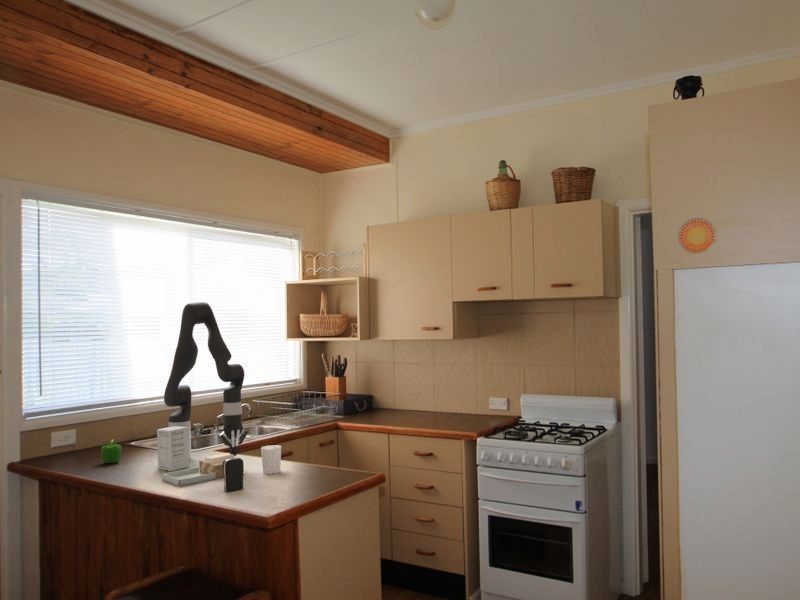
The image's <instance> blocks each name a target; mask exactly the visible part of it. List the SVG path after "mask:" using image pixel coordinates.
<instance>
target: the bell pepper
mask: <svg viewBox="0 0 800 600" xmlns="http://www.w3.org/2000/svg"><path fill="white" fill-rule="evenodd" d="M114 442H115V440H114V439H111V440H110V444H107V445H103V446H101V447H100V454H101V458H102V461H103V463H104V464H105V463H111V464H116V463H115V462H117V463H119V462H120V459H121V456H122V450H123V449H122V448H123V447H122V445H121V444H117V443H114ZM118 461H119V462H118Z"/></svg>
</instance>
